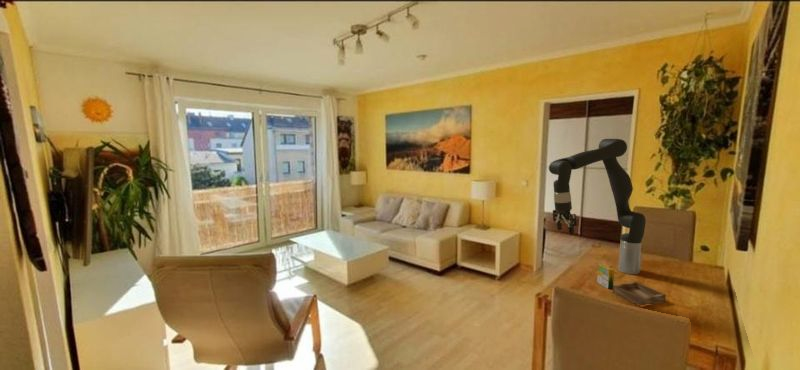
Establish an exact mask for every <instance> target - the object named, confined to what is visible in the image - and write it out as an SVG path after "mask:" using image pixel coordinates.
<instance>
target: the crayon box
mask: <svg viewBox="0 0 800 370" xmlns="http://www.w3.org/2000/svg"><path fill="white" fill-rule="evenodd" d="M597 262H598V263H597V265H598V266H597V275H596V283H597V284H599V285H601V286H602V287H604V288H605V289H607V290H611V289H613V286H614V276H615V275H614V274H615V269H613V268H611V267H610V266H609V265H608V264H605V263H603V262H602V261H599V260H598V261H597Z"/></svg>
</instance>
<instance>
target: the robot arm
mask: <svg viewBox="0 0 800 370" xmlns="http://www.w3.org/2000/svg"><path fill="white" fill-rule="evenodd" d="M627 149H628V144H627V142H626V140H623V139H622V138H604V139H602V140H601V141H600V142H599V144H598V147H597V148H595V149H590V150H586V151H582V152H578V153H576V154H574V155H570V156H567V157H563V158H562V157H561V158H558V159H555V160H553V161H552V162H550V164H549V165H548V170H549V173H550V174H552V175H555V176H558V177H557V179H555V180H553V199H554V200H553V201H554V202H553V203H554V209H553V210H552V220H553V222H555V223H556V229H557V231H562V230H563V225H562V221H563V222H564V223H565V224H566V225H567V227H568V234H569V235H574V233H575V229H574V227H577V225H578V223H577V215H576V214H575V213H571V211H572V209H573V206H572V204H573V203H572V196H571V187H570V181H571V176H572V172H573V171H572V170H578V169H581V168H583V167H586V166H588V165H591V164H594V163H597V162H600V161H602V162H603V165H604V168H605V170H606V174H607V177H608V181H609V185H610V189H611V191H612V195H613V199H614V203H615V209H616V216H617V220H618V223H619V224H620V226H621V227H625V228H627V229H628V230H629V231H628V232H627V233H622V234H621V235H620V240H619V241H620V245H619V255H618V257H619V258H618V270H619V272H621V273H623V274H628V275H638V274H640V273H641V270H642V269H641V267H642V254H641V253H642V241H643V238H644V235H645V228H646V217H645V215H644V214H643V213H640V212H636V211H632V210H631V207H630V204H629V200H630V198H631V196H632V194H633V191H634V187H633V184H632V180H631V177H630V175H629V174H628V172H627V171H626V170H625V169H624V168H623V167H622V166H621V164H620V162H619V161H618V159H617V158H619V157H622V156H624V155H625V153H626V152H627Z"/></svg>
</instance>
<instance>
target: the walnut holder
mask: <svg viewBox="0 0 800 370" xmlns="http://www.w3.org/2000/svg"><path fill="white" fill-rule="evenodd" d="M612 294H614V295H616V296H619V297H620V298H622V299H624V300H626V299H627V300H626V301H628V300H629V301H628V302H630V301H631V303H632V302H634V303H636V304H639V305H646V304H653V305H656V304H655V303H658V304H662V303H665V302H666V298H667V296H666V293H664V292H661V291H659V290H656V289H654V288H652V287H650V286H647V285H645V284H642V283H641V282H638V281H636V280H635V281H631V282H625V283H621V284H620V283H619V284H615V285H614V284H613V288H612ZM661 302H662V303H661ZM634 303H633V304H634ZM636 304H635V305H636Z"/></svg>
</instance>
